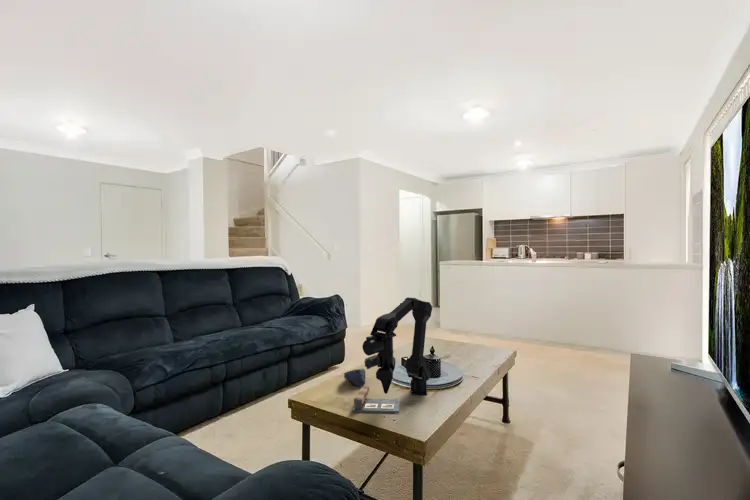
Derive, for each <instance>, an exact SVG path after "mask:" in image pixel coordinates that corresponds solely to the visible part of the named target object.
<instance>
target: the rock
mask: <svg viewBox="0 0 750 500" xmlns="http://www.w3.org/2000/svg"><path fill="white" fill-rule="evenodd" d="M343 377H344V379H345V380H346V381H348V382H349V383H350V384H351V386H356V387H357V386H358V387H359V388H362V386H365V385H366V369H365V368H359V369H352V370H349V371H345V372H344V373H343Z"/></svg>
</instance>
